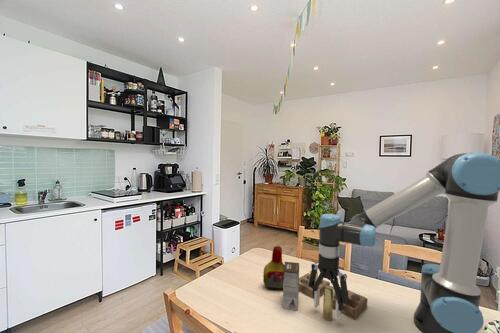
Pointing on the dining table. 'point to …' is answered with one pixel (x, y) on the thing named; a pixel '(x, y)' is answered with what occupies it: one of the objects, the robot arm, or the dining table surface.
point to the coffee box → (291, 285)
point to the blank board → (352, 304)
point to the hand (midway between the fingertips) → (327, 311)
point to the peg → (328, 302)
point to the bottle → (274, 270)
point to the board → (308, 290)
